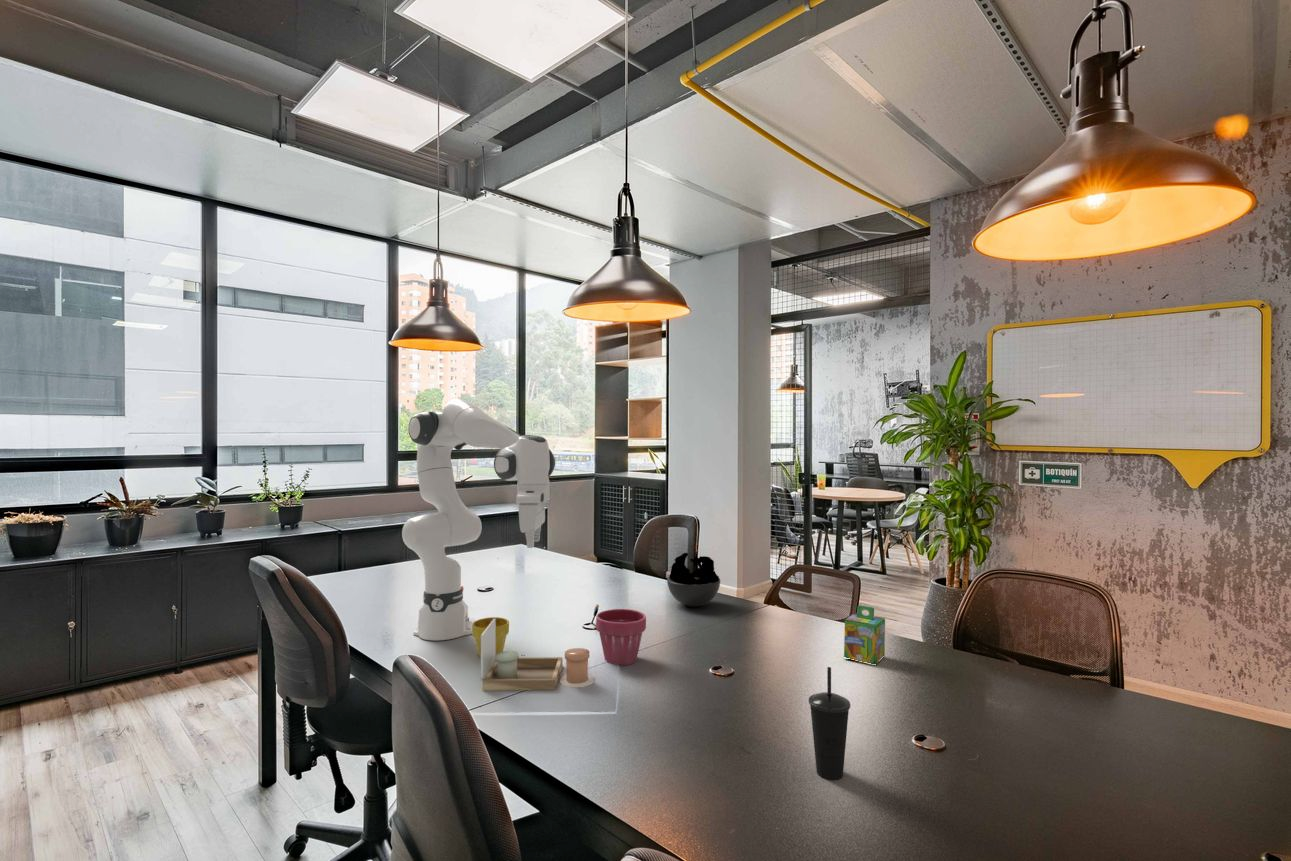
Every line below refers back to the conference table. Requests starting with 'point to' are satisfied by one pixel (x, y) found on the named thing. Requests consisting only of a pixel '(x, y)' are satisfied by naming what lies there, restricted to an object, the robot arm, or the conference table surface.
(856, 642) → the chalk box
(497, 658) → the sage pot
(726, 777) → the conference table surface
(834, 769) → the drinking cup
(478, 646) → the plant pot
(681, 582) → the coal bowl
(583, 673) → the peach mushroom knob
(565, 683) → the cream disc
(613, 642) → the plant pot
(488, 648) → the propped lid
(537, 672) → the brown wooden tray
